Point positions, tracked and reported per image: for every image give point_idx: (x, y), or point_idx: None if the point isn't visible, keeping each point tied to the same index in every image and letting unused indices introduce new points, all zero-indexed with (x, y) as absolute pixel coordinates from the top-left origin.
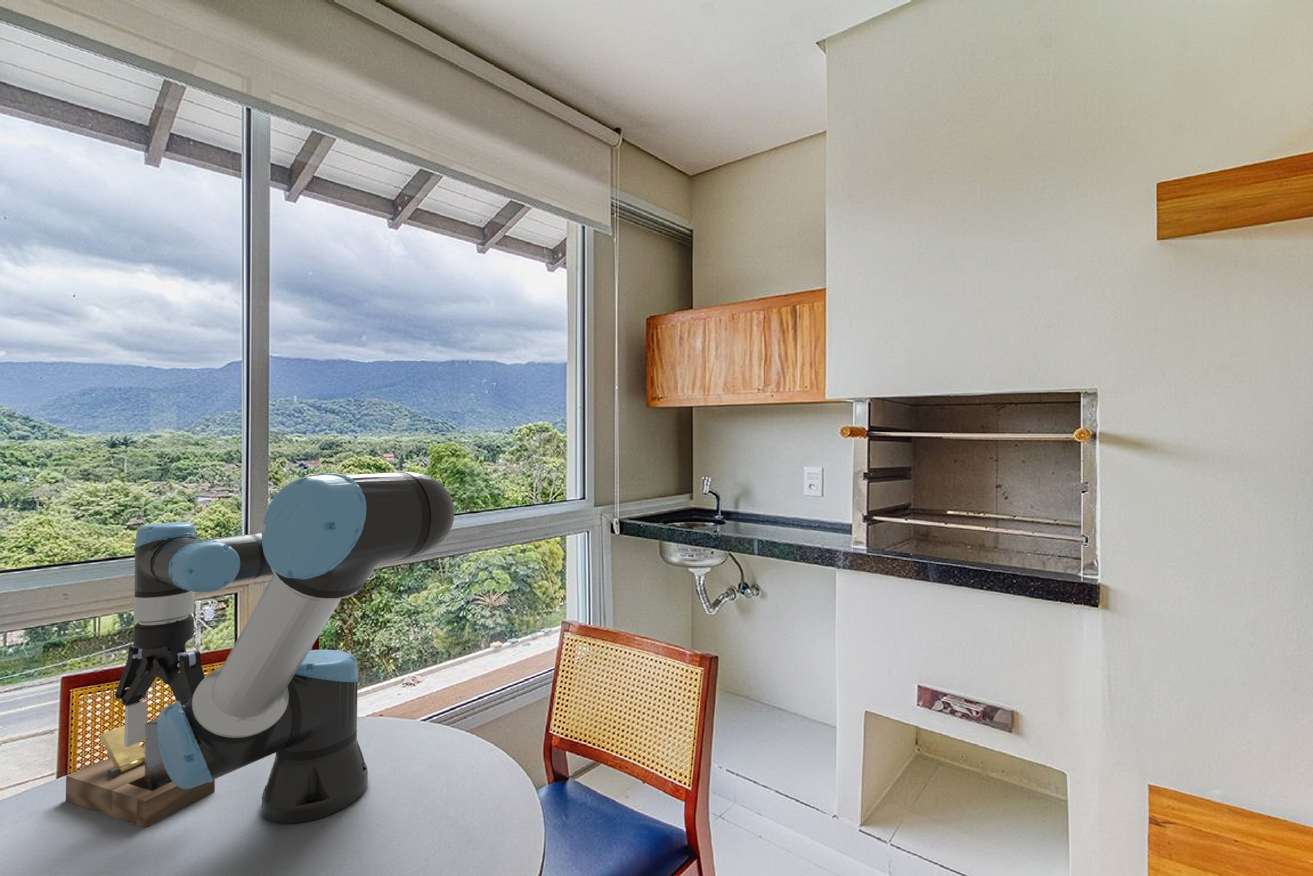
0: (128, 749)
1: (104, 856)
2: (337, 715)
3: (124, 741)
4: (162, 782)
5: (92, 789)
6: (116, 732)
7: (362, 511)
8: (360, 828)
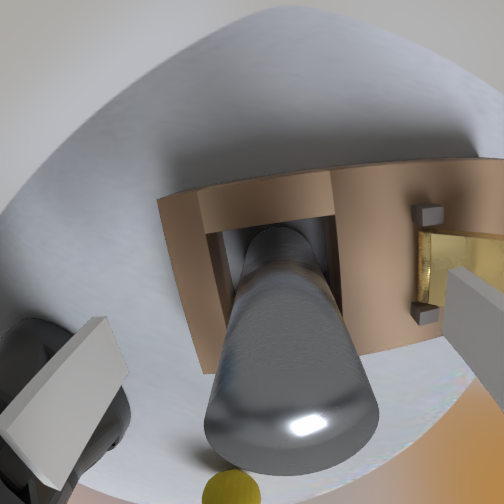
0: None
1: (139, 106)
2: None
3: (473, 273)
4: (241, 273)
5: (419, 161)
6: None
7: None
8: None
